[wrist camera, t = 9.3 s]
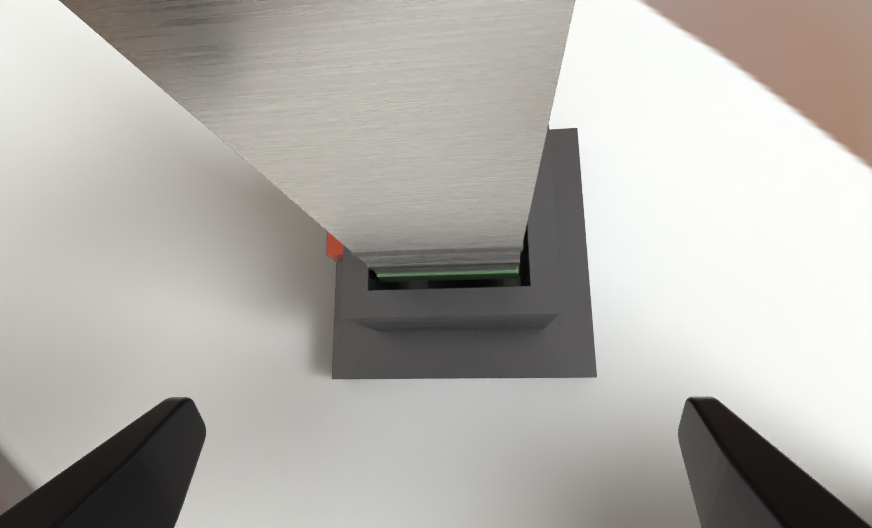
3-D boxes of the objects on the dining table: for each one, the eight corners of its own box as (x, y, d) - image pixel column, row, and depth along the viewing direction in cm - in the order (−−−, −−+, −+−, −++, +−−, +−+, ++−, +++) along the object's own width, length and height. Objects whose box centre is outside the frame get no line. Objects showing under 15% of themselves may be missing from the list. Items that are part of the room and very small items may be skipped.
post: (516, 279, 15) (643, -251, 2) (385, 283, 15) (-120, -139, 3) (511, 156, 16) (578, -713, 3) (387, 162, 16) (15, -571, 4)
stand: (590, 377, 19) (633, 378, 13) (341, 378, 20) (278, 380, 14) (572, 141, 21) (602, 53, 15) (349, 154, 22) (298, 77, 16)
